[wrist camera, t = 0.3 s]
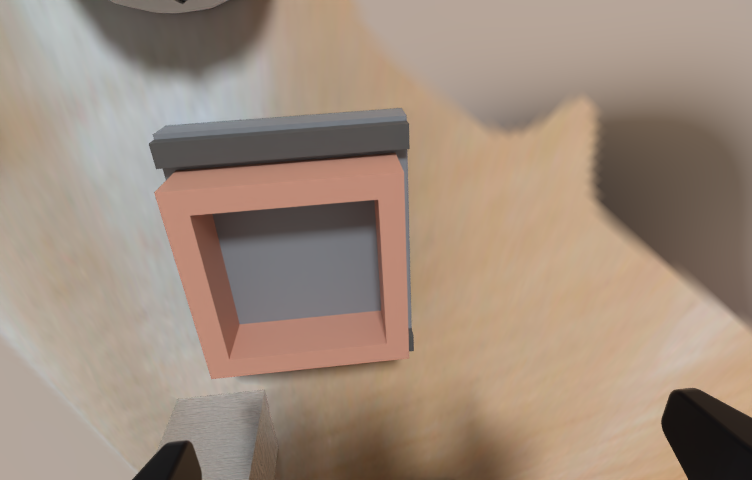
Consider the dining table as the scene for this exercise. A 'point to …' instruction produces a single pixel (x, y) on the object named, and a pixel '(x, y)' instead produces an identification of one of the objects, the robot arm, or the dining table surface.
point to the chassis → (291, 238)
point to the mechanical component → (169, 5)
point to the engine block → (227, 434)
